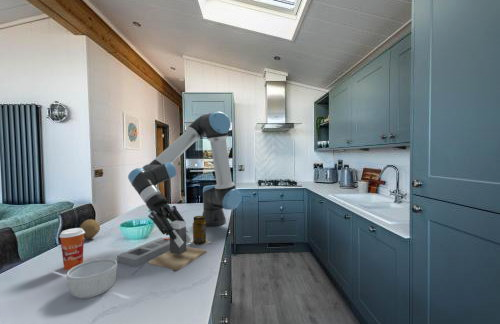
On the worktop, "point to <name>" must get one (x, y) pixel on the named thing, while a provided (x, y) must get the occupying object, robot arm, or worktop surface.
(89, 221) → the natural sponge
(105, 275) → the ramekin
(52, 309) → the worktop surface
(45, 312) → the worktop surface
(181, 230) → the charger
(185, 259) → the tan cloth
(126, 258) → the grey slotted holder
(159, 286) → the worktop surface
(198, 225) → the condiment
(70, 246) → the paper cup
